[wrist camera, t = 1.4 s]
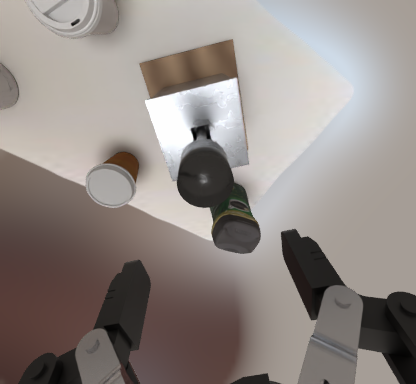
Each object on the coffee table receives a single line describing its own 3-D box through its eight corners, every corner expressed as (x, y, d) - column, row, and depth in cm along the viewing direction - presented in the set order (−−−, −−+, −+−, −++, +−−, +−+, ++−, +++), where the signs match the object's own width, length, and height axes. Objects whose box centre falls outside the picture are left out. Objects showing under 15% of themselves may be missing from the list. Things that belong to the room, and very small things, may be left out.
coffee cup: (81, 46, 42) (31, 39, 29) (61, -23, 37) (-9, -67, 24) (133, 42, 42) (106, 34, 29) (119, -27, 38) (80, -73, 25)
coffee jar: (203, 200, 61) (207, 251, 45) (214, 175, 57) (222, 221, 41) (236, 210, 63) (251, 262, 47) (249, 186, 59) (270, 234, 43)
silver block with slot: (182, 157, 53) (177, 196, 38) (161, 87, 45) (145, 100, 30) (234, 145, 52) (251, 180, 37) (222, 71, 45) (236, 77, 29)
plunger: (182, 156, 40) (173, 229, 22) (167, 106, 35) (142, 150, 18) (230, 145, 39) (258, 212, 22) (220, 93, 35) (246, 125, 18)
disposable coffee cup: (141, 143, 52) (127, 164, 42) (149, 180, 57) (139, 207, 46) (99, 146, 52) (75, 168, 42) (111, 183, 57) (92, 211, 46)
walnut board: (173, 165, 55) (173, 167, 54) (140, 63, 44) (139, 63, 43) (247, 148, 54) (248, 150, 53) (231, 39, 43) (232, 39, 42)
